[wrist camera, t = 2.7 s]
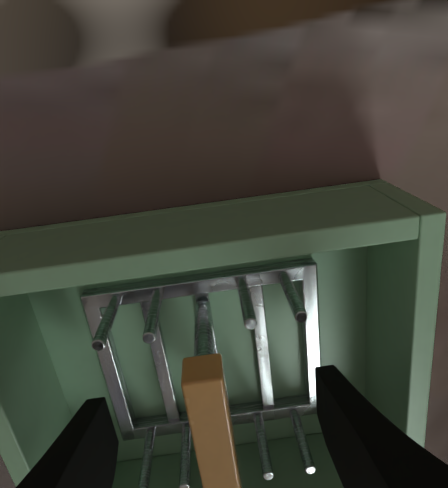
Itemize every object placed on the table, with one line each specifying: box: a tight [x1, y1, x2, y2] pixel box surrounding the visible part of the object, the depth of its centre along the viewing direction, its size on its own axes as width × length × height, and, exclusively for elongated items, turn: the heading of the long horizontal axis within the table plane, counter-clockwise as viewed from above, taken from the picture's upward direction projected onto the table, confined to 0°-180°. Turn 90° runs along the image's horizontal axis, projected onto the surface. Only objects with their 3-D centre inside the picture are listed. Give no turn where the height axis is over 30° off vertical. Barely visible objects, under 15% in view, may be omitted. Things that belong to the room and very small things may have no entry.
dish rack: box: [80, 258, 321, 488], centre depth 13 cm, size 8×7×5 cm
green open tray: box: [0, 179, 446, 488], centre depth 14 cm, size 14×12×4 cm
